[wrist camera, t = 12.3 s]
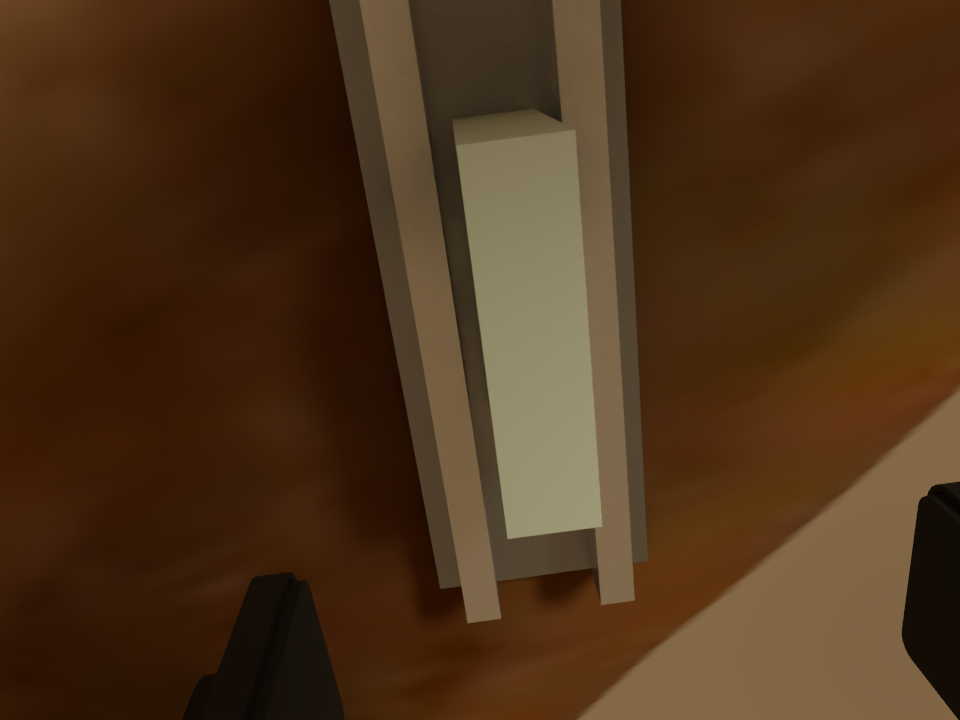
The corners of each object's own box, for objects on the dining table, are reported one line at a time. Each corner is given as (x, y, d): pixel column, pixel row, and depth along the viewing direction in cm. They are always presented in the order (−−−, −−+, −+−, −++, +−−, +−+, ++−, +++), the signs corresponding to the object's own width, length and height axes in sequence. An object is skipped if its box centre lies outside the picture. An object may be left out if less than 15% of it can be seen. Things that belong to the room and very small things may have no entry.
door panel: (452, 119, 26) (455, 145, 18) (533, 108, 26) (575, 129, 18) (490, 410, 31) (507, 538, 23) (559, 401, 31) (602, 526, 23)
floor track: (304, -150, 24) (283, -184, 21) (604, -193, 24) (629, -233, 20) (440, 575, 35) (440, 626, 32) (642, 547, 35) (662, 596, 32)
